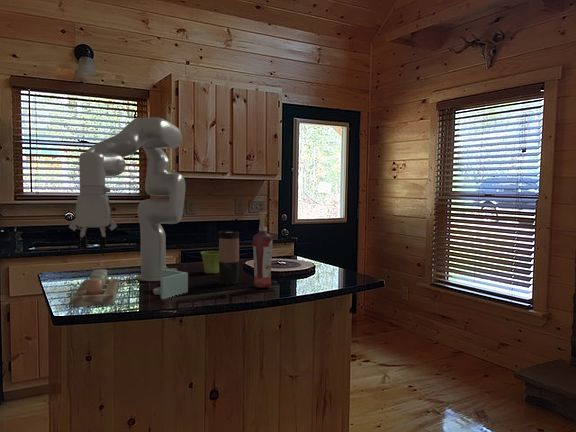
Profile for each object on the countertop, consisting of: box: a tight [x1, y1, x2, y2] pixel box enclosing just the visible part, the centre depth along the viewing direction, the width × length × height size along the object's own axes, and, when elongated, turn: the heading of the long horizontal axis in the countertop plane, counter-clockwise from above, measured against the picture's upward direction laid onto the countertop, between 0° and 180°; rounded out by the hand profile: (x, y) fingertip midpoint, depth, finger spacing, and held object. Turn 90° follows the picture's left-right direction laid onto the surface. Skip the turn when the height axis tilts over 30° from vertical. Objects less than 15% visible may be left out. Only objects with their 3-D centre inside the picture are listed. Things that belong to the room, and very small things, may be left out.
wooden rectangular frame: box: [71, 278, 120, 308], centre depth 165 cm, size 12×26×3 cm, turn 15°
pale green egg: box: [89, 273, 105, 289], centre depth 165 cm, size 5×5×5 cm
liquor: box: [252, 211, 274, 289], centre depth 180 cm, size 7×7×28 cm
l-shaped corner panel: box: [152, 269, 189, 300], centre depth 170 cm, size 12×12×8 cm
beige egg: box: [92, 268, 108, 284], centre depth 172 cm, size 5×5×5 cm
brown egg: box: [86, 278, 103, 295], centre depth 157 cm, size 5×5×5 cm
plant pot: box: [200, 250, 219, 274], centre depth 208 cm, size 9×9×9 cm
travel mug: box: [218, 229, 240, 286], centre depth 187 cm, size 8×8×20 cm
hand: (93, 248), depth 156 cm, fingers open, 4 cm apart
